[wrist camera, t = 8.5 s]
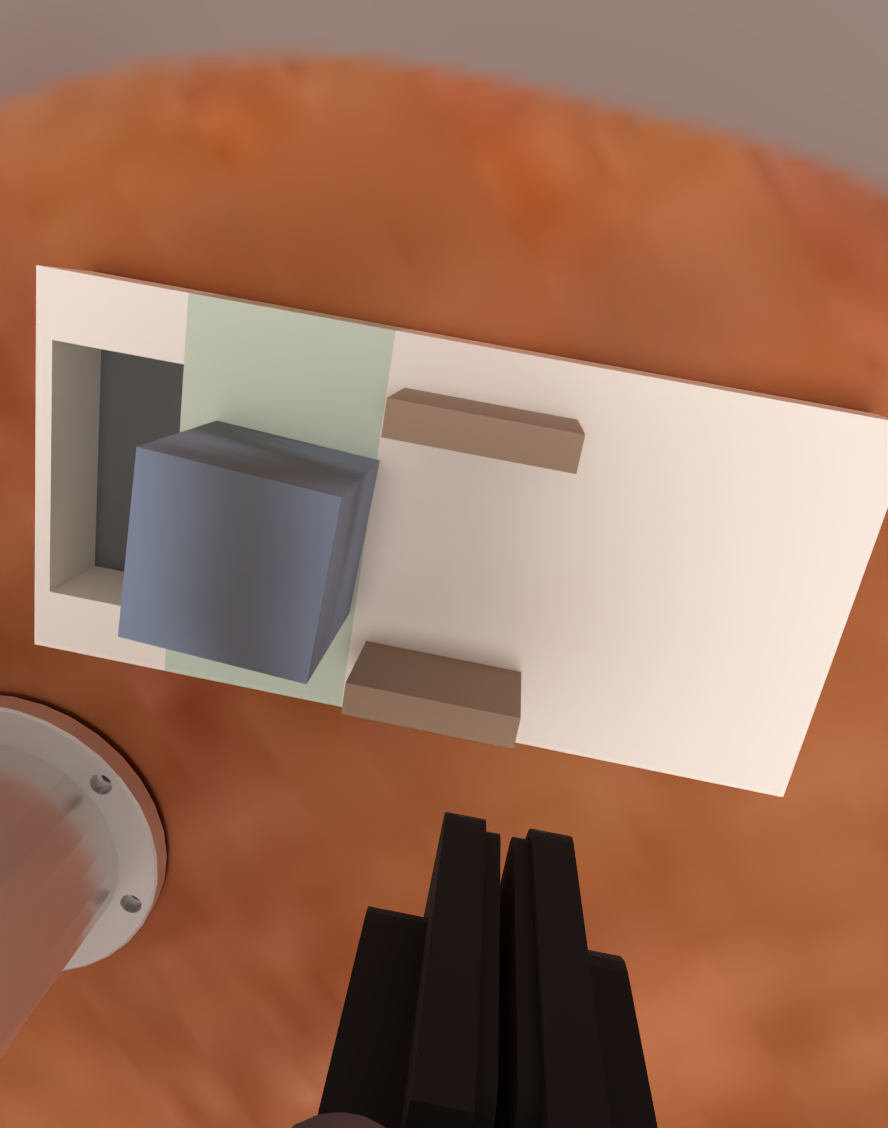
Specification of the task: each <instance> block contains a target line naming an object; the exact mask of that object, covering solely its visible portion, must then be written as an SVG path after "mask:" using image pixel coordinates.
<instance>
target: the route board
mask: <svg viewBox="0 0 888 1128" xmlns="http://www.w3.org/2000/svg"><path fill="white" fill-rule="evenodd" d="M214 421H221V422H225V423H229V424H233V425H237V426H241V427H245V428H250V429H254V430H258V431H262V432H266V433H270V434H274V435H278V436H282V437H286V438H290V439H295V440H299V441H303V442H307V443H311V444H315V445H319V446H323V447H327V448H331V449H335V450H340V451H344V452H348V453H352V454H356V455H360V456H364V457H368V458H372V459H376V460H380V463H379V468H378V473H377V477H376V482H375V487H374V492H373V497H372V502H371V507H370V512H369V517H368V522H367V527H366V532H365V537H364V542H363V547H362V552H361V557H360V562H359V567H358V572H357V577H356V582H355V587H354V592H353V597H352V602H351V607H350V612H349V615H348V616H347V618H346V620H345V621H344V623H343V625H342V626H341V628H340V630H339V631H338V633H337V635H336V636H335V638H334V640H333V641H332V643H331V645H330V646H329V648H328V650H327V651H326V653H325V655H324V656H323V658H322V660H321V661H320V663H319V665H318V666H317V668H316V670H315V671H314V673H313V674H312V676H311V678H310V679H309V681H308V683H307V684H303V683H299V682H295V681H291V680H287V679H283V678H279V677H275V676H271V675H267V674H263V673H260V672H256V671H252V670H248V669H244V668H240V667H236V666H232V665H228V664H224V663H220V662H216V661H212V660H208V659H204V658H200V657H196V656H192V655H188V654H185V653H181V652H177V651H173V650H169V649H165V648H161V647H157V646H153V645H149V644H145V643H141V642H137V641H133V640H129V639H125V638H121V637H118V629H119V619H120V609H121V599H122V589H123V579H124V568H125V558H126V548H127V538H128V528H129V518H130V508H131V498H132V487H133V477H134V467H135V457H136V447H137V446H140V445H143V444H147V443H150V442H153V441H156V440H159V439H162V438H165V437H168V436H171V435H174V434H177V433H180V432H183V431H186V430H189V429H192V428H195V427H198V426H201V425H204V424H207V423H210V422H214ZM887 508H888V417H884V416H881V415H877V414H873V413H869V412H863V411H858V410H852V409H847V408H841V407H836V406H830V405H825V404H819V403H814V402H809V401H803V400H798V399H792V398H787V397H781V396H776V395H770V394H765V393H759V392H754V391H748V390H743V389H737V388H732V387H726V386H721V385H715V384H710V383H704V382H699V381H693V380H688V379H682V378H677V377H671V376H666V375H660V374H655V373H649V372H644V371H638V370H633V369H627V368H622V367H616V366H611V365H605V364H600V363H594V362H589V361H583V360H578V359H572V358H567V357H561V356H556V355H550V354H545V353H539V352H534V351H528V350H523V349H517V348H512V347H506V346H501V345H495V344H490V343H484V342H479V341H473V340H468V339H462V338H457V337H451V336H446V335H440V334H435V333H429V332H424V331H418V330H413V329H407V328H402V327H396V326H391V325H385V324H380V323H374V322H369V321H363V320H358V319H352V318H347V317H341V316H336V315H330V314H325V313H319V312H314V311H308V310H303V309H297V308H292V307H286V306H281V305H275V304H270V303H264V302H259V301H253V300H248V299H242V298H237V297H231V296H226V295H220V294H215V293H209V292H204V291H198V290H193V289H187V288H182V287H176V286H171V285H165V284H160V283H154V282H149V281H143V280H138V279H132V278H127V277H121V276H116V275H110V274H105V273H99V272H94V271H86V270H77V269H68V268H58V267H49V266H40V265H36V441H35V644H36V645H41V646H46V647H51V648H56V649H61V650H66V651H71V652H76V653H80V654H85V655H90V656H95V657H100V658H105V659H110V660H115V661H120V662H124V663H129V664H134V665H139V666H144V667H149V668H154V669H159V670H164V671H168V672H173V673H178V674H183V675H188V676H193V677H198V678H203V679H208V680H212V681H217V682H222V683H227V684H232V685H237V686H242V687H247V688H252V689H256V690H261V691H266V692H271V693H276V694H281V695H286V696H291V697H296V698H300V699H305V700H310V701H315V702H320V703H325V704H330V705H335V706H340V707H342V711H341V714H344V715H349V716H354V717H359V718H364V719H369V720H373V721H378V722H383V723H388V724H393V725H398V726H403V727H408V728H413V729H417V730H422V731H427V732H432V733H437V734H442V735H447V736H452V737H456V738H461V739H466V740H471V741H476V742H481V743H486V744H491V745H495V746H500V747H505V748H510V749H514V745H515V742H516V743H521V744H525V745H530V746H535V747H540V748H545V749H550V750H555V751H560V752H565V753H569V754H574V755H579V756H584V757H589V758H594V759H599V760H604V761H609V762H613V763H618V764H623V765H628V766H633V767H638V768H643V769H648V770H653V771H657V772H662V773H667V774H672V775H677V776H682V777H687V778H692V779H697V780H701V781H706V782H711V783H716V784H721V785H726V786H731V787H736V788H741V789H746V790H750V791H755V792H760V793H765V794H770V795H775V796H780V797H783V796H784V793H785V790H786V787H787V785H788V782H789V779H790V776H791V774H792V771H793V768H794V765H795V762H796V760H797V757H798V754H799V751H800V749H801V746H802V743H803V740H804V738H805V735H806V732H807V729H808V727H809V724H810V721H811V718H812V715H813V713H814V710H815V707H816V704H817V702H818V699H819V696H820V693H821V691H822V688H823V685H824V682H825V679H826V677H827V674H828V671H829V668H830V666H831V663H832V660H833V657H834V655H835V652H836V649H837V646H838V644H839V641H840V638H841V635H842V632H843V630H844V627H845V624H846V621H847V619H848V616H849V613H850V610H851V608H852V605H853V602H854V599H855V597H856V594H857V591H858V588H859V585H860V583H861V580H862V577H863V574H864V572H865V569H866V566H867V563H868V561H869V558H870V555H871V552H872V549H873V547H874V544H875V541H876V538H877V536H878V533H879V530H880V527H881V525H882V522H883V519H884V516H885V514H886V511H887Z"/></svg>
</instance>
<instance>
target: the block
mask: <svg viewBox="0 0 888 1128" xmlns="http://www.w3.org/2000/svg"><path fill="white" fill-rule="evenodd" d="M379 463H380V460H376V459H372V458H368V457H364V456H360V455H356V454H352V453H348V452H344V451H340V450H335V449H331V448H327V447H323V446H319V445H315V444H311V443H307V442H303V441H299V440H295V439H290V438H286V437H282V436H278V435H274V434H270V433H266V432H262V431H258V430H254V429H250V428H245V427H241V426H237V425H233V424H229V423H225V422H221V421H214V422H210V423H207V424H204V425H201V426H198V427H195V428H192V429H189V430H186V431H183V432H180V433H177V434H174V435H171V436H168V437H165V438H162V439H159V440H156V441H153V442H150V443H147V444H143V445H140V446H137V447H136V457H135V467H134V477H133V487H132V498H131V508H130V518H129V528H128V538H127V548H126V558H125V568H124V579H123V589H122V599H121V609H120V619H119V629H118V637H121V638H125V639H129V640H133V641H137V642H141V643H145V644H149V645H153V646H157V647H161V648H165V649H169V650H173V651H177V652H181V653H185V654H188V655H192V656H196V657H200V658H204V659H208V660H212V661H216V662H220V663H224V664H228V665H232V666H236V667H240V668H244V669H248V670H252V671H256V672H260V673H263V674H267V675H271V676H275V677H279V678H283V679H287V680H291V681H295V682H299V683H303V684H307V683H308V681H309V679H310V678H311V676H312V674H313V673H314V671H315V670H316V668H317V666H318V665H319V663H320V661H321V660H322V658H323V656H324V655H325V653H326V651H327V650H328V648H329V646H330V645H331V643H332V641H333V640H334V638H335V636H336V635H337V633H338V631H339V630H340V628H341V626H342V625H343V623H344V621H345V620H346V618H347V616H348V615H349V612H350V607H351V602H352V597H353V592H354V587H355V582H356V577H357V572H358V567H359V562H360V557H361V552H362V547H363V542H364V537H365V532H366V527H367V522H368V517H369V512H370V507H371V502H372V497H373V492H374V487H375V482H376V477H377V473H378V468H379Z"/></svg>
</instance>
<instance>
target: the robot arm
mask: <svg viewBox="0 0 888 1128" xmlns="http://www.w3.org/2000/svg"><path fill="white" fill-rule="evenodd" d="M166 860H167V853H166V845H165V837H164V830H163V827H162V824H161V821H160V818H159V815H158V812H157V809H156V806H155V804H154V802H153V800H152V799H151V797H150V795H149V793H148V791H147V790H146V788H145V786H144V784H143V782H142V781H141V779H140V778H139V777H138V775H137V774H136V773H135V772H134V770H133V769H132V768H131V767H130V765H129V764H128V763H127V762H126V760H125V759H124V758H123V757H122V756H121V755H120V754H119V753H118V752H117V751H116V750H115V749H114V748H112V747H111V746H110V745H109V744H108V743H107V742H106V741H105V740H104V739H102V738H101V737H100V736H99V735H98V734H96V733H95V732H93V731H92V730H90V729H89V728H87V727H86V726H84V725H82V724H81V723H79V722H78V721H76V720H75V719H73V718H72V717H69V716H67V715H65V714H63V713H61V712H58V711H56V710H54V709H52V708H50V707H47V706H45V705H42V704H39V703H35V702H31V701H28V700H24V699H20V698H17V697H12V696H1V695H0V1058H1V1057H2V1055H3V1054H4V1052H5V1051H6V1050H7V1048H8V1047H9V1045H10V1044H11V1043H12V1041H13V1040H14V1038H15V1037H16V1036H17V1034H18V1033H19V1031H20V1030H21V1029H22V1027H23V1026H24V1024H25V1023H26V1021H27V1020H28V1019H29V1017H30V1016H31V1014H32V1013H33V1012H34V1010H35V1009H36V1007H37V1006H38V1005H39V1003H40V1002H41V1000H42V999H43V998H44V996H45V995H46V993H47V992H48V990H49V989H50V988H51V986H52V985H53V983H54V982H55V981H56V979H57V978H58V976H59V975H60V974H61V972H62V971H65V970H69V969H74V968H79V967H83V966H88V965H90V964H92V963H95V962H97V961H99V960H101V959H104V958H106V957H108V956H110V955H111V954H113V953H114V952H116V951H117V950H118V949H120V948H121V947H122V946H124V945H125V944H127V943H128V942H129V941H130V939H131V938H132V937H133V936H134V935H135V934H136V932H137V931H138V930H139V929H140V928H141V926H142V925H143V924H144V922H145V920H146V919H147V917H148V915H149V914H150V912H151V910H152V909H153V907H154V906H155V904H156V902H157V900H158V897H159V894H160V891H161V888H162V886H163V883H164V880H165V870H166ZM291 1128H657V1122H656V1117H655V1112H654V1107H653V1101H652V1096H651V1091H650V1086H649V1081H648V1075H647V1070H646V1065H645V1060H644V1055H643V1049H642V1044H641V1039H640V1034H639V1028H638V1023H637V1018H636V1013H635V1008H634V1002H633V997H632V992H631V987H630V981H629V976H628V972H627V968H626V965H625V961H624V960H623V959H622V957H621V956H616V955H611V954H606V953H601V952H596V951H591V950H588V948H587V940H586V933H585V925H584V918H583V910H582V903H581V895H580V888H579V881H578V873H577V866H576V858H575V851H574V843H573V839H572V837H571V836H567V835H562V834H557V833H551V832H546V831H541V830H536V829H531V828H530V829H529V831H528V833H527V836H526V839H522V838H517V837H512V838H511V841H510V845H509V849H508V853H507V857H506V862H505V866H504V870H503V874H502V879H501V883H500V834H496V833H491V832H486V820H485V819H480V818H475V817H469V816H464V815H459V814H454V813H449V812H445V815H444V819H443V824H442V829H441V834H440V839H439V844H438V849H437V854H436V859H435V864H434V869H433V873H432V878H431V883H430V888H429V893H428V898H427V903H426V908H425V913H424V917H420V916H414V915H409V914H404V913H399V912H394V911H389V910H384V909H379V908H374V907H369V906H368V909H367V912H366V916H365V920H364V924H363V928H362V932H361V936H360V941H359V945H358V949H357V953H356V957H355V961H354V966H353V970H352V974H351V978H350V982H349V986H348V991H347V995H346V999H345V1003H344V1007H343V1011H342V1016H341V1020H340V1024H339V1028H338V1032H337V1037H336V1041H335V1045H334V1049H333V1053H332V1057H331V1062H330V1066H329V1070H328V1074H327V1078H326V1082H325V1087H324V1091H323V1095H322V1099H321V1103H320V1107H319V1112H318V1115H315V1116H313V1117H311V1118H308V1119H306V1120H304V1121H302V1122H299V1123H297V1124H295V1125H293V1126H292V1127H291Z"/></svg>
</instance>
